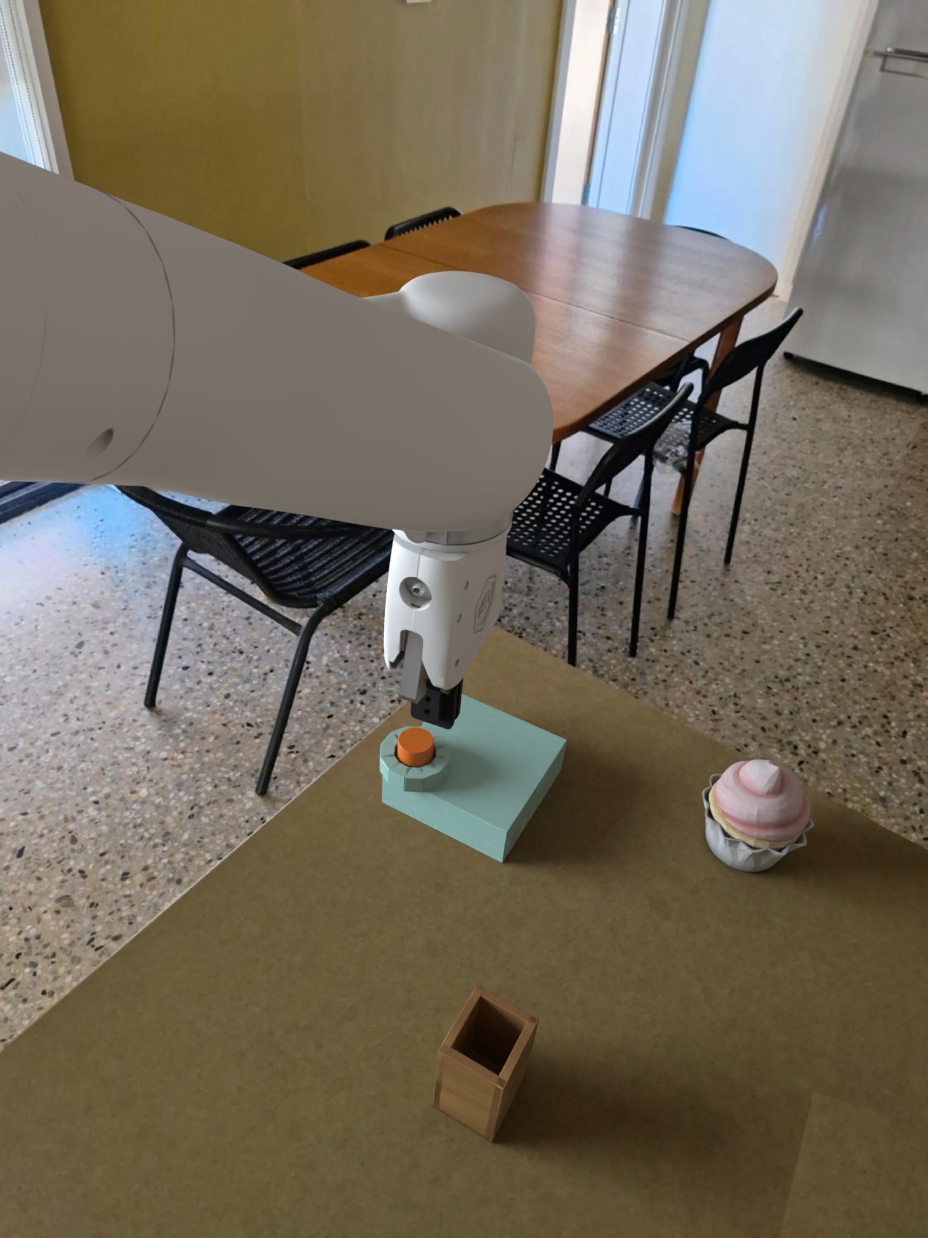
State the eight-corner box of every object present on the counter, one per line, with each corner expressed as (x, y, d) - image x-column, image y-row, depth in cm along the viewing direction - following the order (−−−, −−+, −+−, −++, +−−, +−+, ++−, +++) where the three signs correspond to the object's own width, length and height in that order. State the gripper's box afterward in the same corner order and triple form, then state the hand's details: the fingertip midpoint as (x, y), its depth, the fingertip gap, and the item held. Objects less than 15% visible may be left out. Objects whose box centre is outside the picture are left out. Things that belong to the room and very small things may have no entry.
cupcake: (795, 904, 73) (836, 828, 67) (682, 870, 75) (711, 793, 69) (798, 818, 80) (835, 742, 74) (694, 789, 82) (722, 713, 76)
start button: (421, 772, 74) (421, 758, 73) (390, 758, 75) (391, 743, 74) (439, 750, 76) (440, 736, 75) (409, 736, 77) (410, 722, 76)
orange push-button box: (497, 871, 74) (504, 826, 70) (366, 805, 78) (366, 759, 74) (560, 770, 83) (570, 725, 79) (440, 716, 87) (444, 671, 83)
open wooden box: (491, 1144, 57) (503, 1090, 52) (431, 1106, 59) (437, 1050, 54) (525, 1075, 61) (539, 1018, 56) (468, 1041, 62) (476, 983, 57)
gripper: (463, 581, 46) (443, 809, 57) (548, 457, 57) (517, 669, 68) (334, 543, 48) (339, 772, 59) (440, 430, 59) (428, 641, 70)
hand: (435, 716), depth 64 cm, fingers closed
